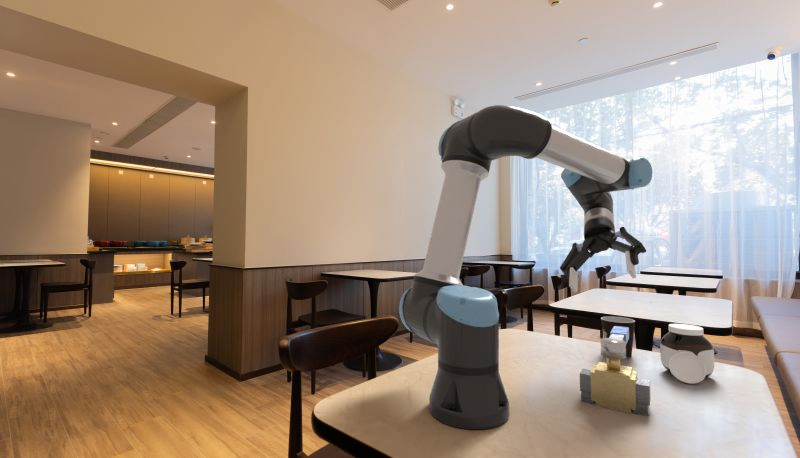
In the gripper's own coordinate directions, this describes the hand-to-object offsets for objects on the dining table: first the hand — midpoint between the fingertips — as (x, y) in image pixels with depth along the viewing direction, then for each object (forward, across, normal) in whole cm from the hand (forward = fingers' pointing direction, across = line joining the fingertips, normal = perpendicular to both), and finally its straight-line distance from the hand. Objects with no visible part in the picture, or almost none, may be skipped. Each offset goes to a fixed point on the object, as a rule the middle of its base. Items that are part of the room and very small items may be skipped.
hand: (601, 282), depth 88 cm
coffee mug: (-5, +11, -33) cm, 35 cm away
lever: (+14, 0, -7) cm, 15 cm away
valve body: (+25, +2, -9) cm, 27 cm away
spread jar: (+6, -6, -30) cm, 31 cm away
